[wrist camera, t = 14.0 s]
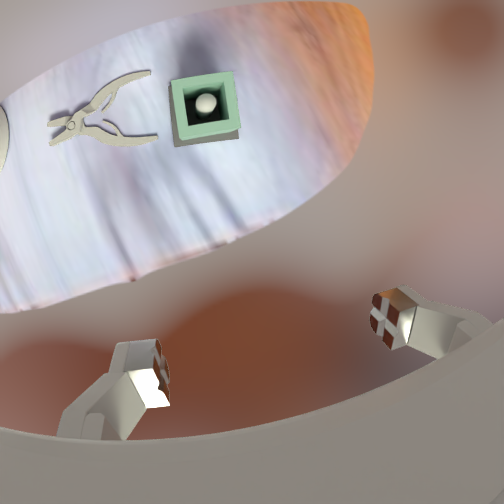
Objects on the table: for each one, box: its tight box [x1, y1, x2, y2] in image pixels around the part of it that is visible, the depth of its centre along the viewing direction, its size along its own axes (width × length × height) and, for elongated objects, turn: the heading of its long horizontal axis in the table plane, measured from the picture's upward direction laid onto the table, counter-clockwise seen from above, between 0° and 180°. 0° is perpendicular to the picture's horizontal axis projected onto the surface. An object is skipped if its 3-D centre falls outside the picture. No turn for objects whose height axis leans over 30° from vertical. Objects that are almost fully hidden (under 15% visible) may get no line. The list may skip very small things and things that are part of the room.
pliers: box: [47, 71, 158, 146], centre depth 29 cm, size 10×2×15 cm
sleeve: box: [171, 71, 241, 141], centre depth 28 cm, size 6×6×8 cm
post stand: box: [168, 86, 239, 147], centre depth 29 cm, size 8×8×8 cm
